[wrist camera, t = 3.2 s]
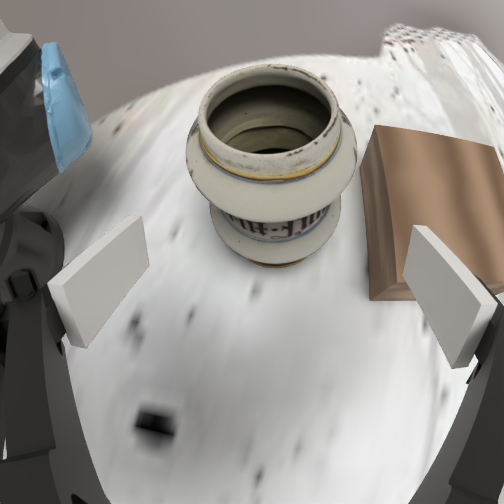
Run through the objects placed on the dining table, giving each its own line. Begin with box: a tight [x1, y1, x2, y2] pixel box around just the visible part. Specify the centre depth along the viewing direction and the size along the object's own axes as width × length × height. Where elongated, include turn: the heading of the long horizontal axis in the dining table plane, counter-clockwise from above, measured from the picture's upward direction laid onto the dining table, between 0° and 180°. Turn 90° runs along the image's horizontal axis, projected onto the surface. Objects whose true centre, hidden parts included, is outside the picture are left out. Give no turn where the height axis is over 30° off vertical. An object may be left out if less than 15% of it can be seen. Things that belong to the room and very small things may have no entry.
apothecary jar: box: [186, 64, 357, 268], centre depth 25 cm, size 12×12×18 cm
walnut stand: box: [360, 125, 504, 301], centre depth 28 cm, size 16×16×8 cm
